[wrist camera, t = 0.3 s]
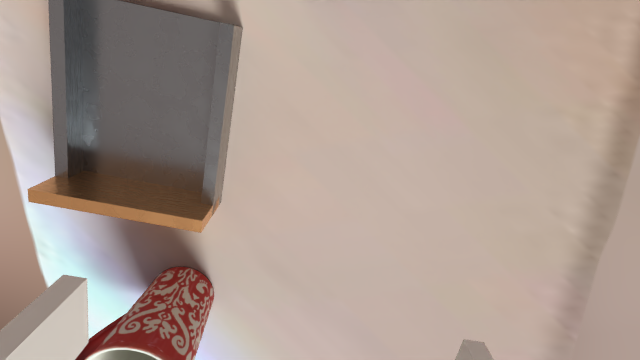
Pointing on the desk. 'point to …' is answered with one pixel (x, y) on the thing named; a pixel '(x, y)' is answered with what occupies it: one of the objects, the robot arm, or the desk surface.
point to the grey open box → (139, 112)
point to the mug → (158, 321)
